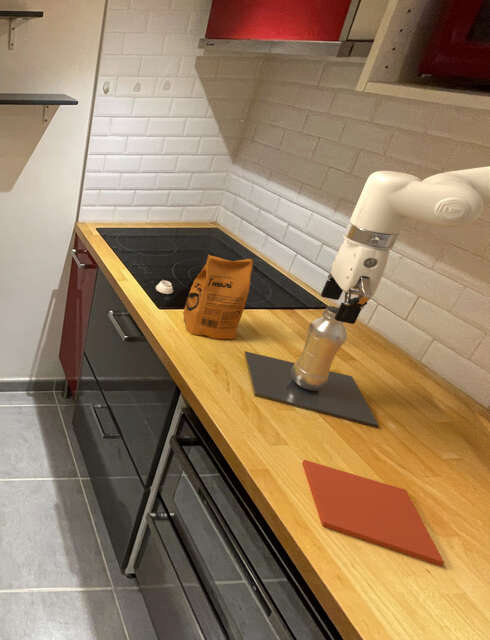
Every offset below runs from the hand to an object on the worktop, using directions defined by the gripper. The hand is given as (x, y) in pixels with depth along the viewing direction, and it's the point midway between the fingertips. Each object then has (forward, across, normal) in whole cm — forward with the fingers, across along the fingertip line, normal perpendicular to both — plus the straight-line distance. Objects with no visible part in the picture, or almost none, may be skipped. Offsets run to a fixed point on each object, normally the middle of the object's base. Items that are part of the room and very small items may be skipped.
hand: (336, 309), depth 94 cm
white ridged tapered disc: (+22, +33, +30) cm, 49 cm away
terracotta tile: (+21, -31, -2) cm, 38 cm away
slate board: (+21, 0, 0) cm, 21 cm away
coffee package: (+22, +16, +18) cm, 33 cm away
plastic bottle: (+20, 0, 0) cm, 21 cm away
